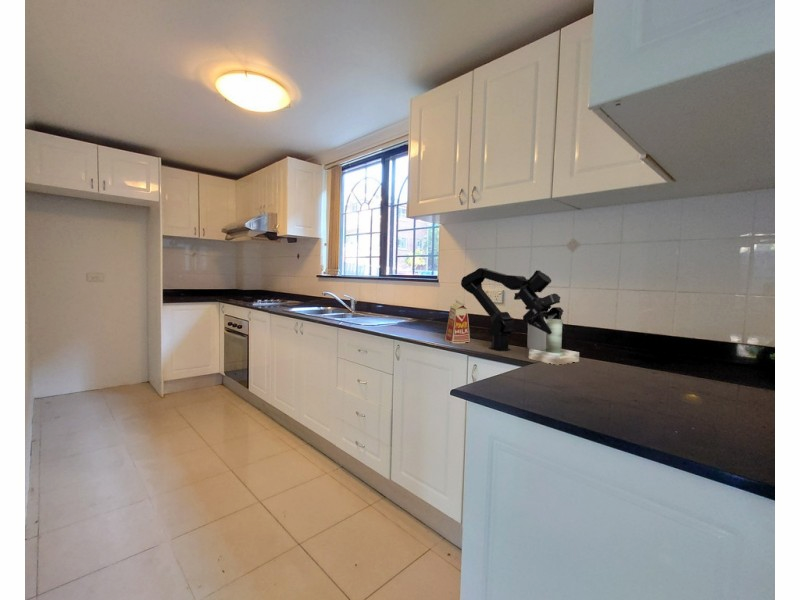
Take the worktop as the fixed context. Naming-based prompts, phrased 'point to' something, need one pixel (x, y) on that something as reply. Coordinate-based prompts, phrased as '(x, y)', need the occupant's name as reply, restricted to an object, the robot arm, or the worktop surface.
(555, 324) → the pale green cylinder
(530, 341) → the pill bottle
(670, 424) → the worktop surface
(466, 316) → the milk carton
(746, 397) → the worktop surface
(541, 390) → the worktop surface
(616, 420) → the worktop surface
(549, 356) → the mottled cream slab
